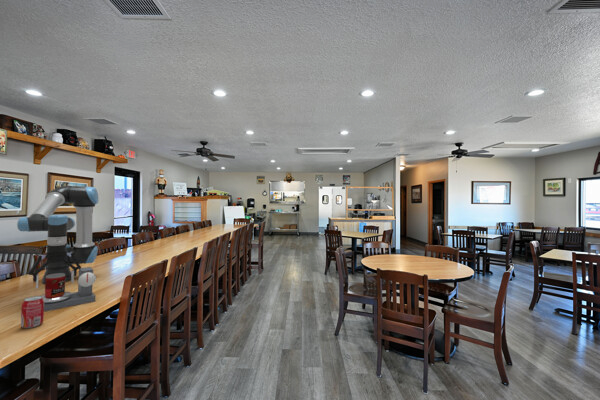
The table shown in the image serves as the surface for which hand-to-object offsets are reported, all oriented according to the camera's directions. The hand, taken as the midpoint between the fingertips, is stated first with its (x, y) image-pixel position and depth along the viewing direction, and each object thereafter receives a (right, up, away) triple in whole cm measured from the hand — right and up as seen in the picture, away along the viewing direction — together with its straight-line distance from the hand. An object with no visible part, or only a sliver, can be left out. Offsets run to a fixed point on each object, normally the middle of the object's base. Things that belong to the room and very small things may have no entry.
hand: (55, 285), depth 138 cm
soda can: (+11, -11, -22) cm, 27 cm away
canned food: (0, -6, 0) cm, 6 cm away
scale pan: (0, -7, 0) cm, 7 cm away
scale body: (+2, -11, +3) cm, 11 cm away
